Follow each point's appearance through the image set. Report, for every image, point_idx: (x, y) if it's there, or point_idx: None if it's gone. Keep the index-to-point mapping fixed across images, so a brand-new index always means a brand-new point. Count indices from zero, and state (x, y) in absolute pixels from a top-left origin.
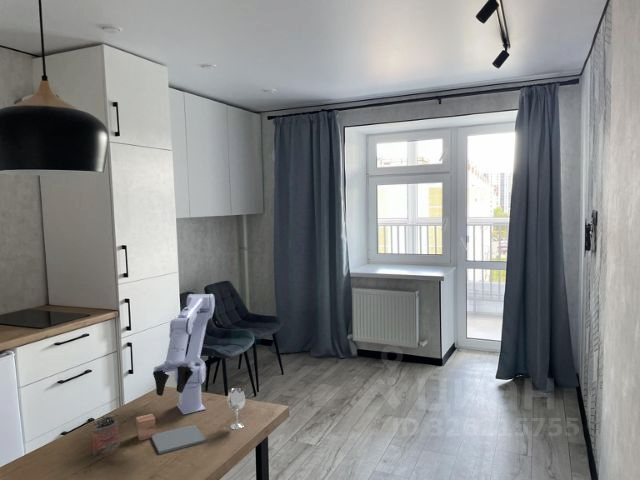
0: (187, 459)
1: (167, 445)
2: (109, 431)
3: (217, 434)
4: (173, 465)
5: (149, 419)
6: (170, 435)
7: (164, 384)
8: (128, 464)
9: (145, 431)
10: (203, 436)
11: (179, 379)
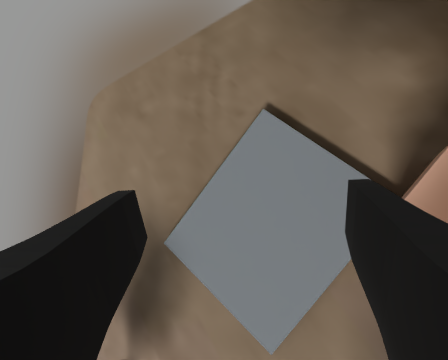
0: (166, 128)
1: (263, 154)
2: None
3: (159, 306)
4: (184, 85)
5: (417, 187)
6: (307, 227)
7: (386, 334)
8: (321, 18)
9: (420, 176)
10: (181, 260)
11: (47, 235)
